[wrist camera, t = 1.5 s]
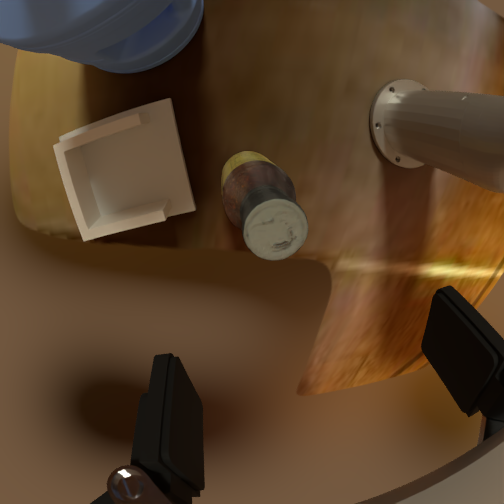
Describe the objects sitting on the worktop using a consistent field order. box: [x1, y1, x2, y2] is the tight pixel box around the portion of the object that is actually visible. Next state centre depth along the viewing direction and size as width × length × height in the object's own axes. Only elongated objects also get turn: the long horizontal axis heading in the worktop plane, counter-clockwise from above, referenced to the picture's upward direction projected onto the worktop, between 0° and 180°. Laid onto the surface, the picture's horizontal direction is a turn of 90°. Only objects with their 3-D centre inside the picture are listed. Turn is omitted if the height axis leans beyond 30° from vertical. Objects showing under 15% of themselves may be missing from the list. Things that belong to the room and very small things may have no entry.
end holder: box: [53, 98, 196, 241], centre depth 31 cm, size 15×14×6 cm
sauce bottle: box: [221, 151, 308, 261], centre depth 27 cm, size 7×6×20 cm
